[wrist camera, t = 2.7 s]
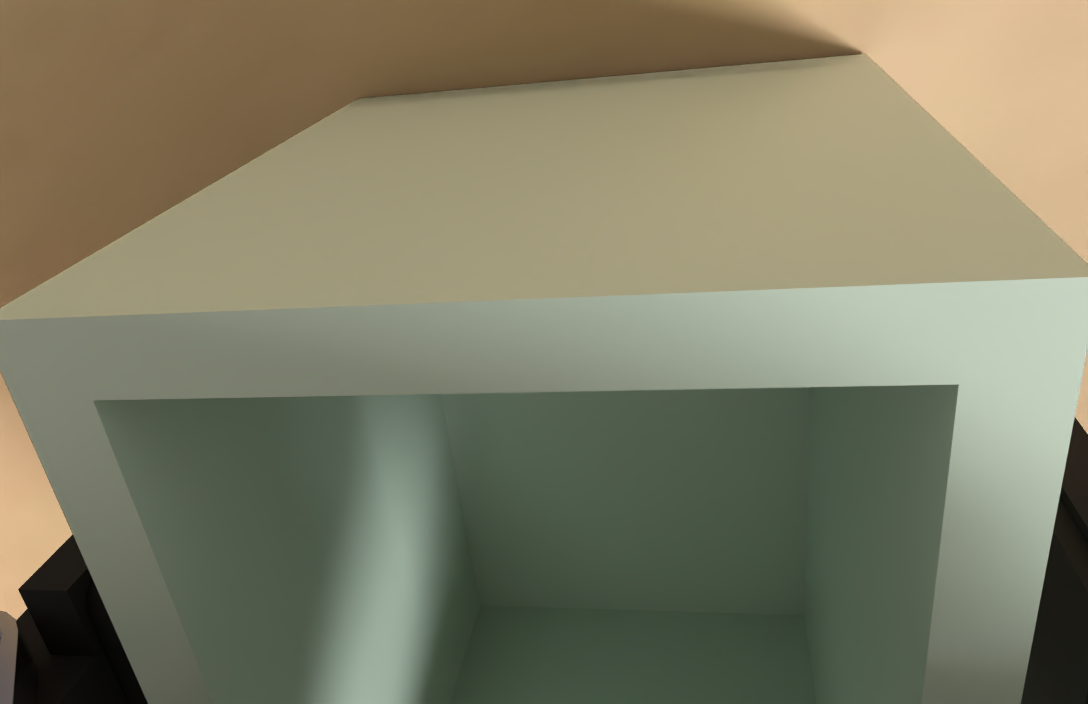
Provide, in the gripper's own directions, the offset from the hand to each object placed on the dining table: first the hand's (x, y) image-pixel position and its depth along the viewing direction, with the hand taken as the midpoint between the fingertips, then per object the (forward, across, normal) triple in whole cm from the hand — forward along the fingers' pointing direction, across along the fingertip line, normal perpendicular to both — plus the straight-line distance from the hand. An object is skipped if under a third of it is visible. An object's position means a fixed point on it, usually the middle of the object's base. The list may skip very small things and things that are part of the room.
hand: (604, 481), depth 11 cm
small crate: (+2, 0, 0) cm, 2 cm away
